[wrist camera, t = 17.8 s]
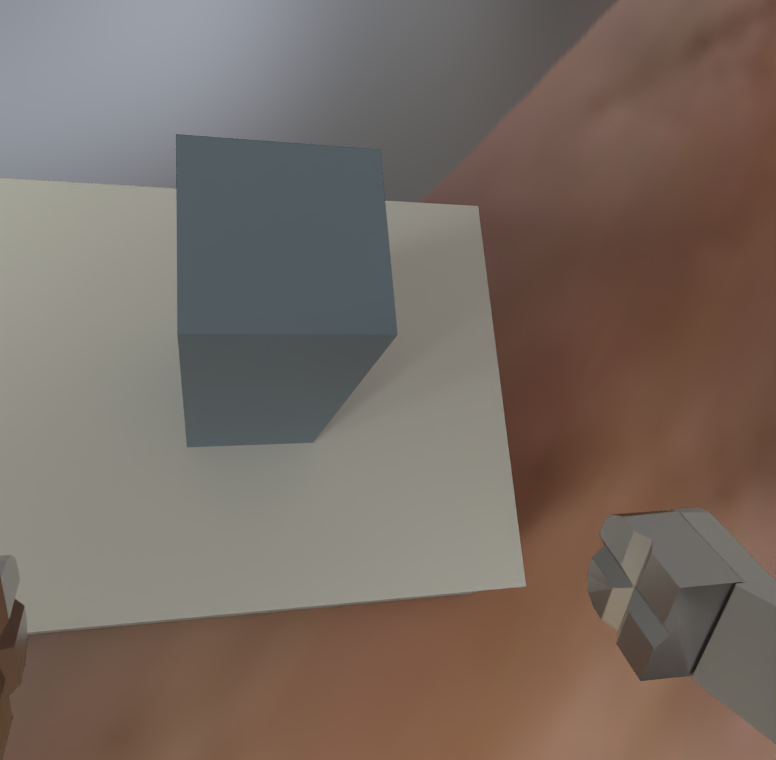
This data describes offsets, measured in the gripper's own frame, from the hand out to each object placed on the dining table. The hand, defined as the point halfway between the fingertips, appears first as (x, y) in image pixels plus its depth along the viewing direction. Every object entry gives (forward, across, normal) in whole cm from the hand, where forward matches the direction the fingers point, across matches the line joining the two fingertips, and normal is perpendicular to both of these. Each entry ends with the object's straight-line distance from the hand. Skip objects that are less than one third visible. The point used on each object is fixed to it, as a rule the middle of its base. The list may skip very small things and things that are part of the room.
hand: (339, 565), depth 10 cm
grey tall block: (+16, 0, +6) cm, 17 cm away
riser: (+21, 0, +11) cm, 24 cm away
